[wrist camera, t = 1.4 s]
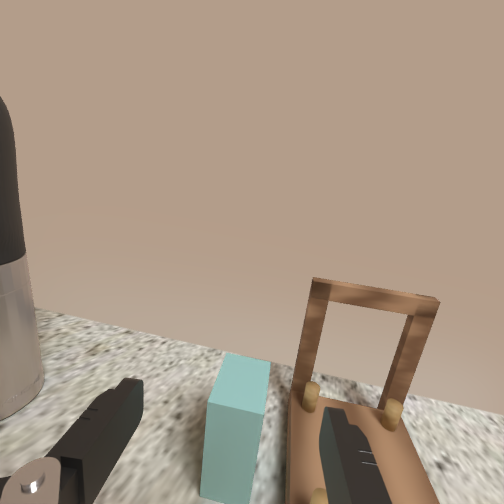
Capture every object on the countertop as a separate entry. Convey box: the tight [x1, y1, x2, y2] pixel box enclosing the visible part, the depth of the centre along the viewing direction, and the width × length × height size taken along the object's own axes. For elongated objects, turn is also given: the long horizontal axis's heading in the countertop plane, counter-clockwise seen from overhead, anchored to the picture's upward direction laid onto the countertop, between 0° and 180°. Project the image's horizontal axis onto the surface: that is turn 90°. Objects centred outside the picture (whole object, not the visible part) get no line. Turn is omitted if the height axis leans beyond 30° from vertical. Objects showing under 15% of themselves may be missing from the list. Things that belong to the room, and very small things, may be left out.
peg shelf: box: [285, 277, 440, 504], centre depth 24 cm, size 13×16×18 cm
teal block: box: [200, 353, 271, 504], centre depth 24 cm, size 4×6×11 cm
